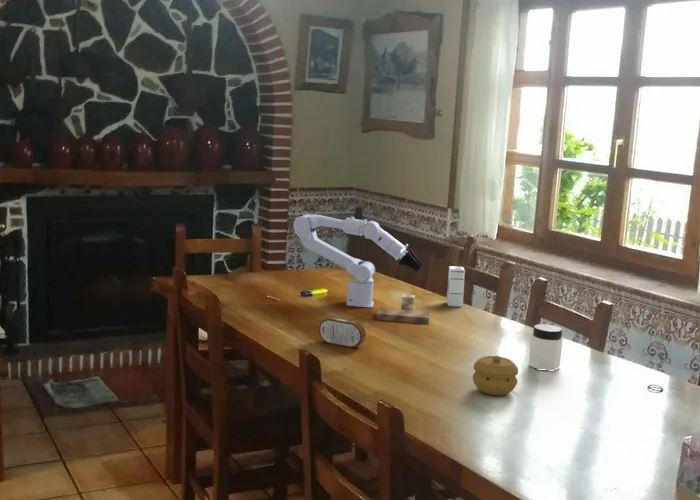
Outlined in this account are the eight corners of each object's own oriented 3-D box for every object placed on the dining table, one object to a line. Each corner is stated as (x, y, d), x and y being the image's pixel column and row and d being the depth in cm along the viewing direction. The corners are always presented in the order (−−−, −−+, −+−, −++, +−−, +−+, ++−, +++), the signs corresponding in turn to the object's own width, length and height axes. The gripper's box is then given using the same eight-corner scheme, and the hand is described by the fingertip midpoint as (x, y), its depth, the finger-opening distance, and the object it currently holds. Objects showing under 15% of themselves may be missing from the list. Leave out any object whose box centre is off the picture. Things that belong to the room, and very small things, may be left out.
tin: (365, 348, 247) (366, 321, 246) (361, 350, 244) (362, 323, 243) (321, 339, 253) (322, 313, 252) (316, 342, 251) (318, 315, 249)
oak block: (400, 313, 292) (402, 296, 291) (401, 309, 296) (402, 294, 295) (413, 314, 291) (414, 297, 290) (413, 311, 296) (415, 295, 295)
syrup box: (462, 307, 306) (466, 269, 303) (447, 306, 306) (450, 268, 303) (461, 303, 311) (464, 266, 309) (445, 302, 311) (448, 265, 309)
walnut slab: (376, 319, 281) (376, 313, 280) (378, 313, 290) (379, 307, 289) (428, 324, 279) (428, 318, 278) (429, 317, 288) (429, 311, 287)
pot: (469, 383, 220) (472, 348, 219) (512, 386, 220) (515, 350, 218) (474, 398, 209) (477, 361, 207) (519, 401, 209) (523, 364, 207)
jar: (565, 370, 236) (569, 330, 234) (542, 373, 233) (546, 332, 230) (545, 361, 244) (549, 322, 242) (523, 363, 240) (527, 324, 238)
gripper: (395, 237, 287) (425, 260, 285) (399, 235, 301) (428, 257, 300) (383, 253, 288) (413, 276, 287) (387, 250, 302) (416, 272, 301)
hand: (420, 268), depth 293 cm, fingers open, 7 cm apart
